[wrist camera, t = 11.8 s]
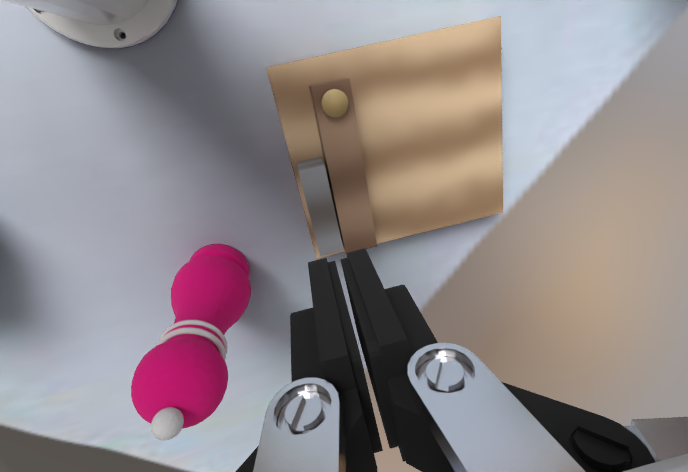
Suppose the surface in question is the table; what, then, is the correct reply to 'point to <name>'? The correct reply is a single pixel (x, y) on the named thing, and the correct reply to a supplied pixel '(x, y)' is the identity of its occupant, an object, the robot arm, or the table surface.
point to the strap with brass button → (344, 162)
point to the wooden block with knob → (404, 130)
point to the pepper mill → (193, 343)
